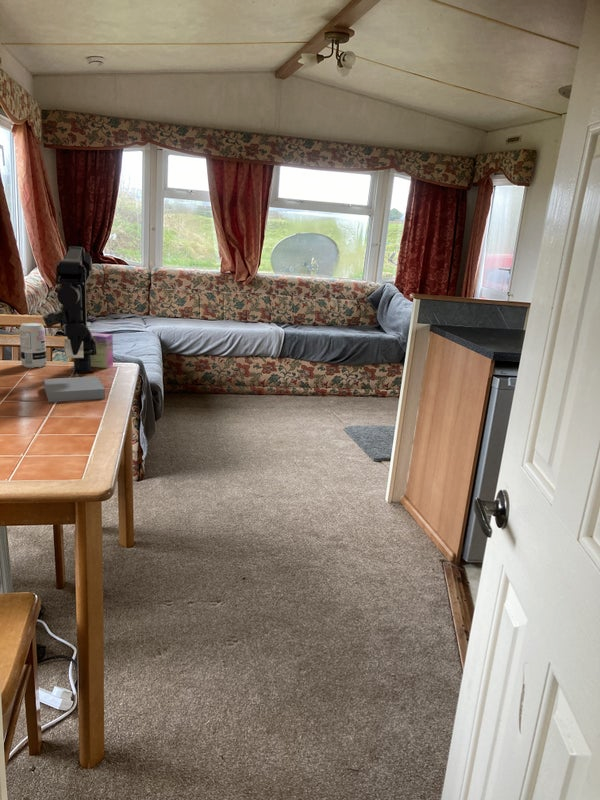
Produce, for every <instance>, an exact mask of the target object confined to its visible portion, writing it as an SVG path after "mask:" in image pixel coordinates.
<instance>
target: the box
mask: <svg viewBox="0 0 600 800" xmlns="http://www.w3.org/2000/svg"><path fill="white" fill-rule="evenodd" d="M91 333H92V338H94V341H95V342H96V353H97V354H96V355H91V368H99V369H100V368H101V369H108V368H111V367H112V366H113V365H114V348H113V347H114V342H113V341H114V339H113V337H114V335H113V333H111V334H109V333H99V332H91ZM90 351H92V350H90Z"/></svg>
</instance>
